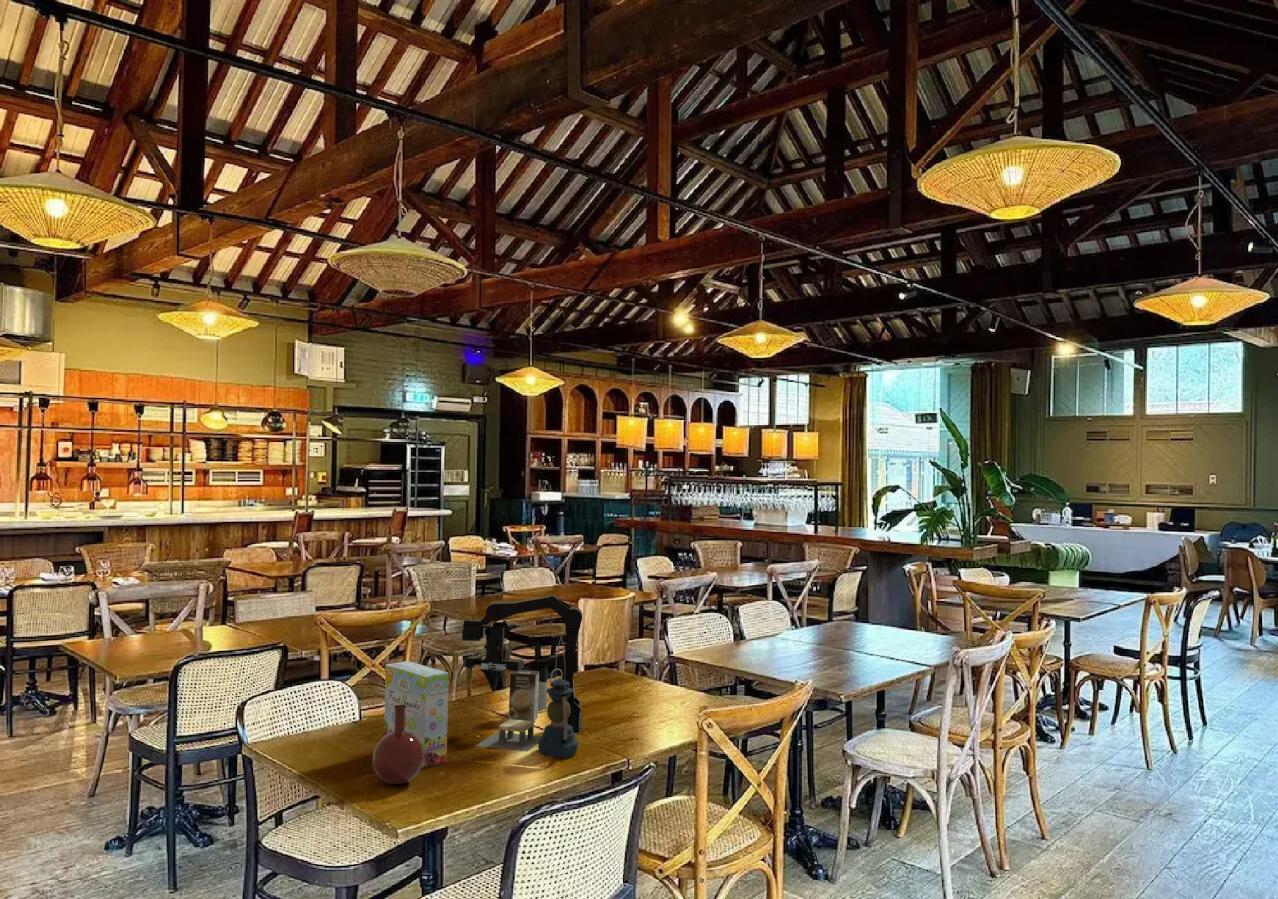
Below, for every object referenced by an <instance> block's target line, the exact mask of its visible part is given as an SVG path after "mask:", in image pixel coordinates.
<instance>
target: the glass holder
mask: <svg viewBox="0 0 1278 899" xmlns="http://www.w3.org/2000/svg"><path fill="white" fill-rule="evenodd" d="M525 670H528V671H539V691H538V711H542V710H545V709H547V708H548V704H549V702H548V701H549V700H550V699H551V697H550V696H548V693H547V691H546V690H547V689H548V683H549V682H550V683H551V682H552V679H553V674H554V672H555V668H554V669H553V670H552V671H551V673H550V679H549V680H548V665H545V664H529V665H527V666H526V668H525ZM557 670H558V671H560V673H561V674H560V675H561V678H560V679H562V675H563V670H562V669H560V668H556V671H557Z"/></svg>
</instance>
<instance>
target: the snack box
mask: <svg viewBox="0 0 1278 899" xmlns="http://www.w3.org/2000/svg"><path fill="white" fill-rule="evenodd" d="M384 668H385V670H384V671H385V672H384V674H385V675H384V681H385V682H384V684H385V685H384V720H383V721H384V722H383V723H384V727H383V729H384V731H383V733H384V734H383V737H385V736H386V735H388V734H390V733H393V732H394V725H395V709H394V706H396V705H405V706H406V708H405V728H404V732H408V733H411V734H413V735H414V736H416V737H417V738H418V739H419V741H420V742H421V744H422V746H423V750H424V761H423V765H422V767H421V768H424V769H425V768H429V767H433V766H436V765H439V764H445V763H447V762H448V758H447V757H448V756H447V755H448V754H447V752H448V751H447V750H448V714H449V713H448V712H449V711H448V709H449V680H450V679H449V674H450V673H449V672H447V671H444V670H441V669H437V668H434V667H431V666H430V667H429V666H427V665H423V664H420V663H416V662H412V661H410V660H406V661H401V662H393V663H387V664H385V666H384Z"/></svg>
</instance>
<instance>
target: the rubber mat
mask: <svg viewBox="0 0 1278 899" xmlns="http://www.w3.org/2000/svg"><path fill="white" fill-rule="evenodd" d="M542 736H543V735H542ZM542 736H541V735H535V734H533V740H532V741H530V740H527V738H528V734H525V746H524V747H522V746H519V733H514V738H512V739H510V738H508V732H505V744H499V731H496V732H495V733H493V734H492V735H490V736H488V737H486V738H485V739H484V740H482V741H480V742H479V743H477V744H476V745H475V747H482V748H489V749H491V748H492V749H501V750H510V751H520V752H529V751H531V750H532V749H533V748H534V747H536V746H538V742H539V740H540V739H542Z"/></svg>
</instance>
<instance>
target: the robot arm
mask: <svg viewBox="0 0 1278 899" xmlns="http://www.w3.org/2000/svg"><path fill="white" fill-rule="evenodd" d="M546 609H551V610H553V611H554V612H555V613H556V614H558V616H560V617H561V618H563V620H564V628H565V643H564V644H565V647H564V655H563V657H564V656H565V663H564V662H563V664H562V666H563V668H562V673H563V675H562V674H561V677H562V680H565V681H567V682H569V686H568V687H567V688H571V689H573V692H572V693H571V696H569V697H568V700H567V702H568V703H569V705H570V716H569V718H568V719H567V723H568V725H570V726H572V727H573V732H574V733H575V734H579V733H580V732H581V731H583V730H584V729H585V728H584V727H583V711H581V710H582V707H581V706H582V703H581V701H580V700H579V699H578V698H577V696H576V695H575V683H574V674H575V673H574V672H575V662H576V652H577V642H578V635H579V633H580V629H581V625H582V622H583V612H582V610H581V609H580V608H579V607H577V606H572V605H570V604H569V603H567V602H566V601H564V600H562V599H560V598H559V597H558V596H557V595H555V594H550V595H548V596H540V597H536V598H530V599H529V598H528V599H523V600H518V601H502V600H501V601H500V600H497V601H493V602H491V603H489V605H488V606H487V607H486V610H485V615H484V616H482V618H481V619H476V620H474V619H473V620H472V619H464V620H463V626H462V632H461V638H462V639H461V641H462V642H481V641H482V639H484V638H485V645H483V649H484V650H485V656H484V657H483V656H482V655H470V656H468V657H466V658H465V659H464V662H463V667H464V668H471V669H472V668H474V667H475V666H481V668H480V669H479V670H480V672H482V673H483V674H484V676H485V678H486V680H487V683H488V685H489V687H490V689H491V691H495V690H496V689H497V686H498V684H499V681H500V677H501V676H502V674H503V673H504V672H505V671H510V672H512V671H519V670H524V668H525V662H524V660H523V659H522V658H511V654H512V653H511V652H512V650H510V649H508V648H506V643H504V642H505V641H504V639H505V629H509V628H510V627H511V623H508V621H507V618H509V617H512V616H514V615H517V614H523V613H524V614H525V613H530V612H534V611H539V610H540V611H541V610H546ZM501 620H503V621H501ZM491 622H492V624H490V623H491ZM485 628H486V629H485ZM565 665H566V675H565Z"/></svg>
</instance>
